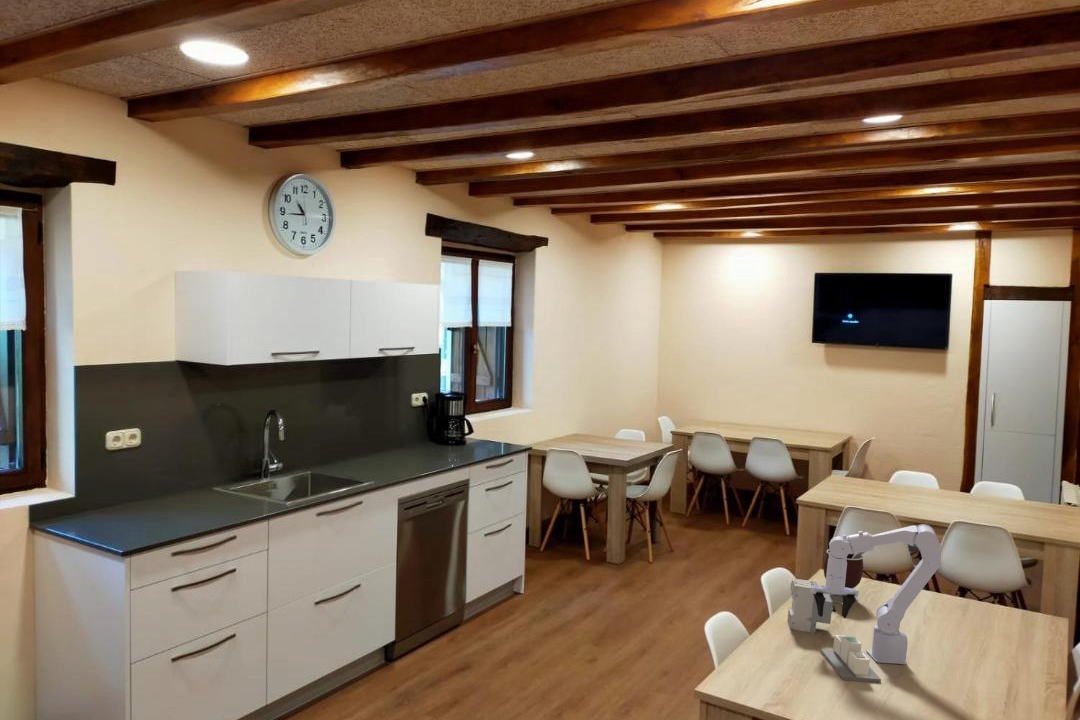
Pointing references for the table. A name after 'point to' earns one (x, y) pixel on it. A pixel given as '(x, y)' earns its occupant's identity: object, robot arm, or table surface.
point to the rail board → (845, 670)
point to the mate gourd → (848, 572)
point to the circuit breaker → (807, 607)
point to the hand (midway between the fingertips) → (831, 616)
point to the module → (849, 647)
